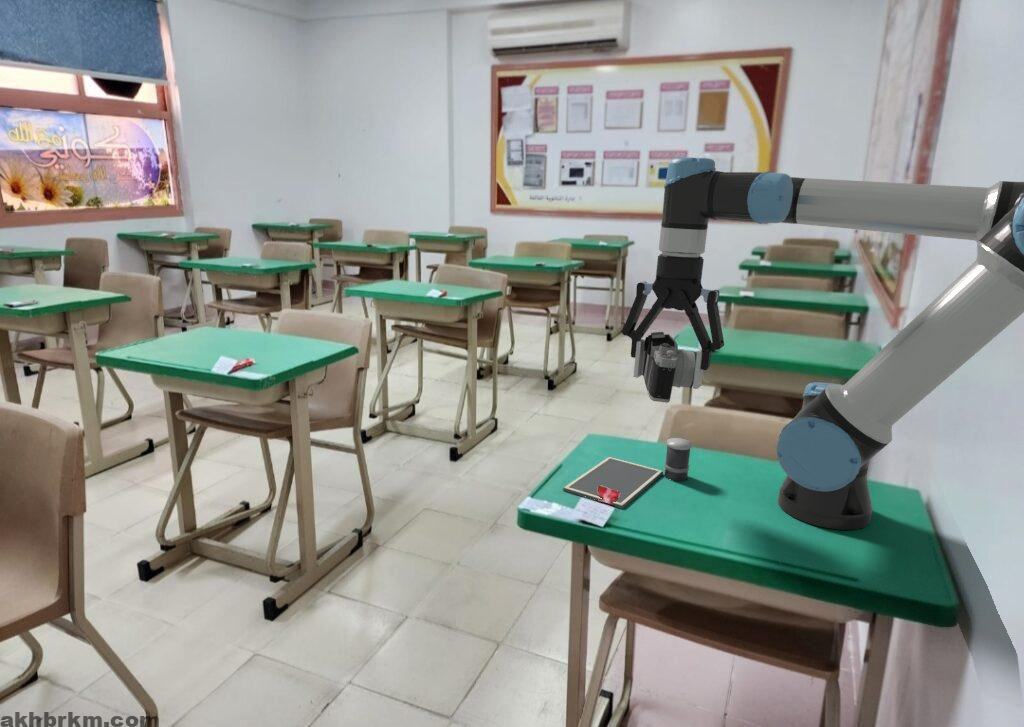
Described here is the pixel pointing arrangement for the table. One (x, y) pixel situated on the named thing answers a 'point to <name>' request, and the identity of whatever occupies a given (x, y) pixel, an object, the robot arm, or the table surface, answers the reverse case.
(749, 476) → the table surface
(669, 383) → the camera
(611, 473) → the mat
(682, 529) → the table surface
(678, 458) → the lens
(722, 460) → the table surface
